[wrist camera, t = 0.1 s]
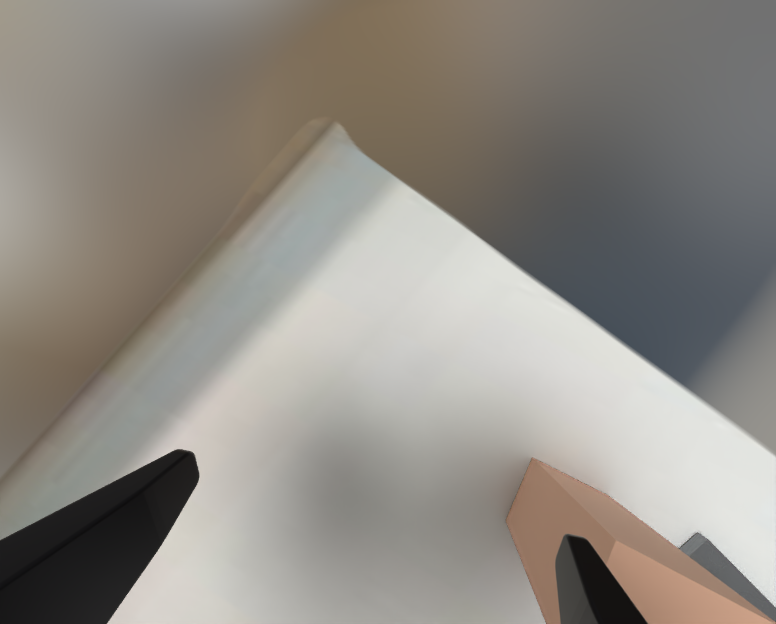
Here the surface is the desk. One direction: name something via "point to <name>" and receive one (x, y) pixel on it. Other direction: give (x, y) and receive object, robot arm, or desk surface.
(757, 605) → the standoff chassis
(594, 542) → the terracotta block
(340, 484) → the desk surface
